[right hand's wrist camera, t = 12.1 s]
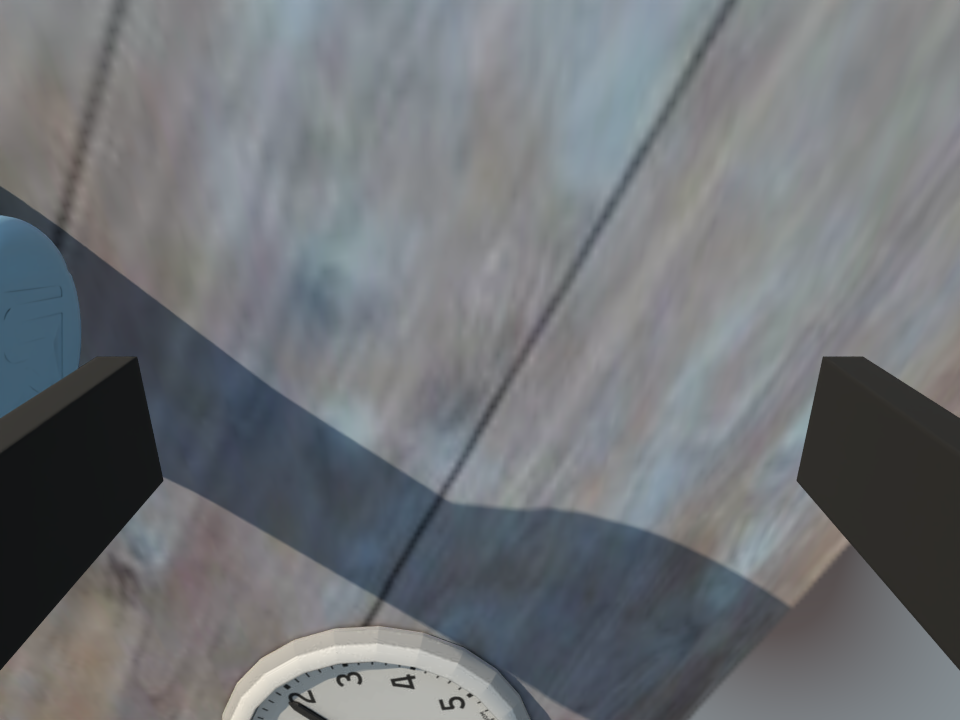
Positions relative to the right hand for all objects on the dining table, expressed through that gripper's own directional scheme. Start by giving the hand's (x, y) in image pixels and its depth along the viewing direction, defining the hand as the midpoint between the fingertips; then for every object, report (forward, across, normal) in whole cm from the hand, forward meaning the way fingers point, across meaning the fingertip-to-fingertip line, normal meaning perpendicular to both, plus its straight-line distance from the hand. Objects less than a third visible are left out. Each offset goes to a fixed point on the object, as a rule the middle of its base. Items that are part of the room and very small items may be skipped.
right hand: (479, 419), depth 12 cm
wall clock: (+32, -10, -51) cm, 61 cm away
